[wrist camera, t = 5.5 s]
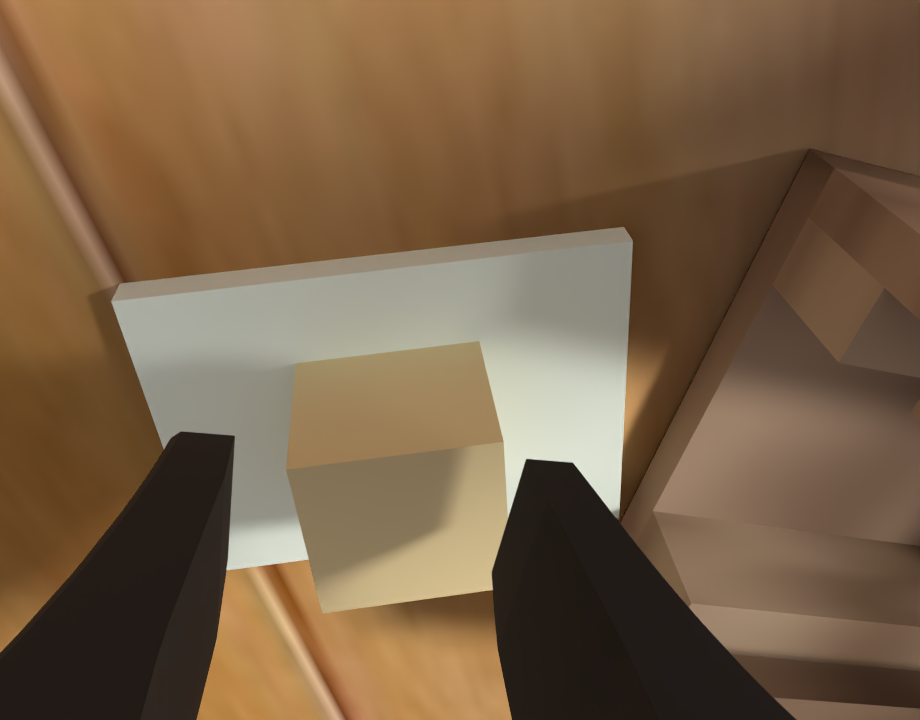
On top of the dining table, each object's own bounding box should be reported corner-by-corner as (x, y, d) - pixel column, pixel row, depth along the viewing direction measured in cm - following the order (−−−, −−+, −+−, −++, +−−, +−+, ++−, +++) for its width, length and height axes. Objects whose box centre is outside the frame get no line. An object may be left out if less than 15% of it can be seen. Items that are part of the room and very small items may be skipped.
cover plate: (612, 209, 14) (690, 328, 11) (603, 476, 17) (660, 626, 14) (128, 264, 14) (62, 405, 10) (215, 527, 17) (185, 693, 14)
